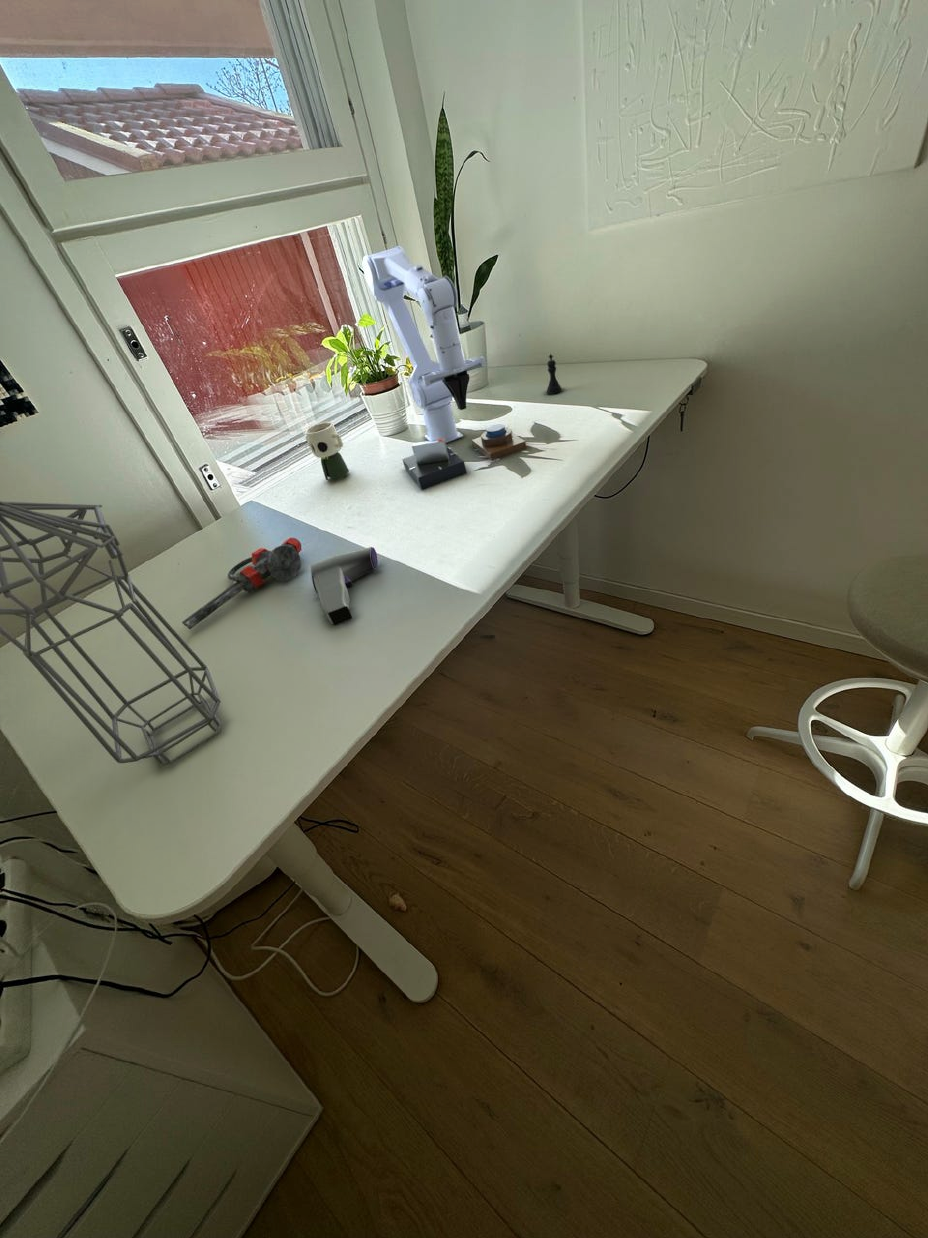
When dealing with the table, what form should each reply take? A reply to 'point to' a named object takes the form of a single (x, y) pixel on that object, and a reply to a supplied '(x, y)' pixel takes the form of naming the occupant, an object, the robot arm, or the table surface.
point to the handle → (430, 451)
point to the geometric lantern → (43, 522)
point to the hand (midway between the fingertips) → (462, 408)
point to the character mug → (327, 449)
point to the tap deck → (434, 470)
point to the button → (495, 430)
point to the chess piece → (553, 378)
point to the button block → (498, 444)
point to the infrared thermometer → (340, 580)
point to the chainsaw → (255, 575)
